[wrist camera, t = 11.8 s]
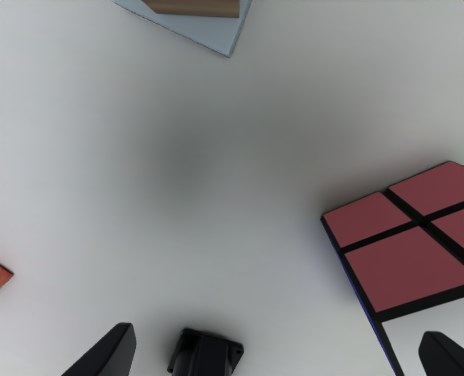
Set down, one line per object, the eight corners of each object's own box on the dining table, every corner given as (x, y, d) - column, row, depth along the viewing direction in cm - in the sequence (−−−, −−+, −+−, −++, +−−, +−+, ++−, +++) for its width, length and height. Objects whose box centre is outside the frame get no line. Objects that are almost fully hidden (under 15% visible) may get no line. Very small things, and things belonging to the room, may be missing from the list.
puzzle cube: (317, 214, 21) (371, 320, 12) (452, 157, 19) (646, 234, 10) (359, 301, 24) (427, 438, 15) (479, 261, 22) (644, 394, 13)
